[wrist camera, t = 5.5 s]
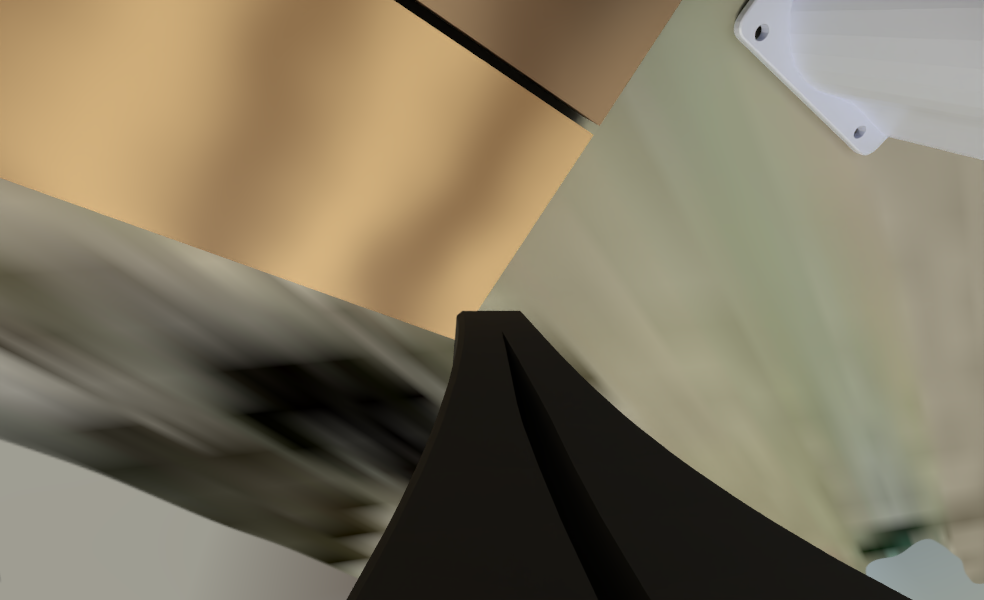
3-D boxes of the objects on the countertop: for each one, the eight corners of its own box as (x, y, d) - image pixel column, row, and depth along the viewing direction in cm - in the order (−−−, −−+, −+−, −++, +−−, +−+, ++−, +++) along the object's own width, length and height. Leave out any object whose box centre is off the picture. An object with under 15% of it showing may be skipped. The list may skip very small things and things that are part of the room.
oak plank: (575, 122, 16) (593, 134, 15) (454, 314, 21) (457, 340, 19) (-58, -303, 9) (-158, -371, 8) (-50, 122, 13) (-114, 137, 12)
